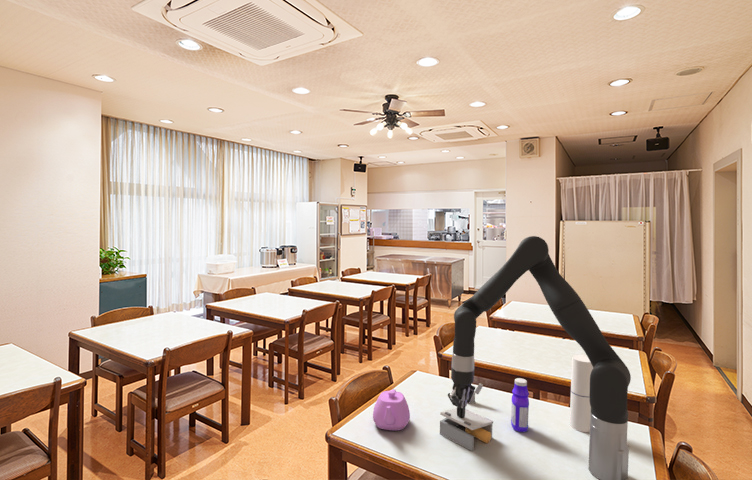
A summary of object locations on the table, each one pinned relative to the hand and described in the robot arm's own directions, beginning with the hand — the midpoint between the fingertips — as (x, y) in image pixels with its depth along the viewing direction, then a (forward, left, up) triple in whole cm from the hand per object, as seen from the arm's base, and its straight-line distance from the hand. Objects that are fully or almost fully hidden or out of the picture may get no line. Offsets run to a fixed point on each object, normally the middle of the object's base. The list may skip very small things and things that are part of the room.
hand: (460, 416), depth 128 cm
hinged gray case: (-1, -2, -7) cm, 7 cm away
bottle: (-10, -21, -7) cm, 24 cm away
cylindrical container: (-24, -39, -7) cm, 47 cm away
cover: (-1, -2, -1) cm, 3 cm away
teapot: (+21, +13, -7) cm, 26 cm away
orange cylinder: (-4, -4, -7) cm, 9 cm away
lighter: (+12, -25, -7) cm, 29 cm away
